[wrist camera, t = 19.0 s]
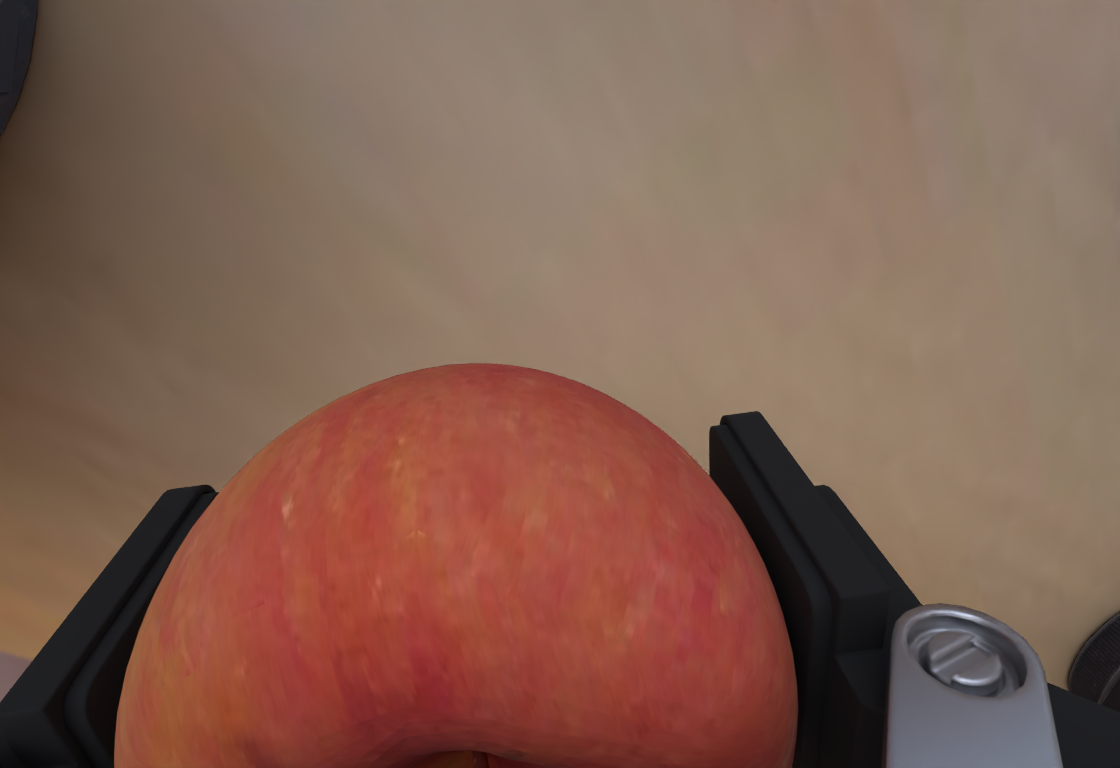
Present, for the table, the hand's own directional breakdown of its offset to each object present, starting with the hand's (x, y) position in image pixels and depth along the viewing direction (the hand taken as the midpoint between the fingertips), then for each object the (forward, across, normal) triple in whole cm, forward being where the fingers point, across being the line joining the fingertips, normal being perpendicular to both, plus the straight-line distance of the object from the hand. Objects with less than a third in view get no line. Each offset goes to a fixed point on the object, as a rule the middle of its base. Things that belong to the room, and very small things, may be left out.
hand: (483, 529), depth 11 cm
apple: (+2, 0, 0) cm, 2 cm away
